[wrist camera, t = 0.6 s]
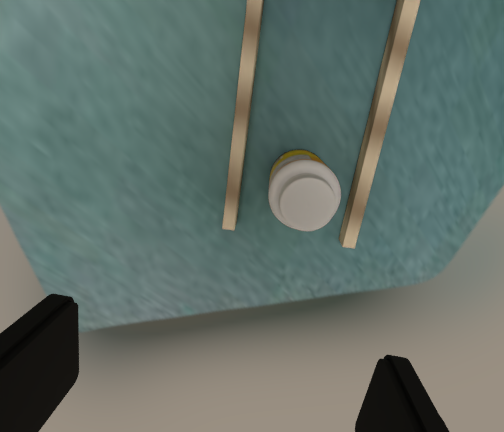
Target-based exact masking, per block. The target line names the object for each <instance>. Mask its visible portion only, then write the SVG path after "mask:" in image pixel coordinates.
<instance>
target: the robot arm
mask: <svg viewBox="0 0 504 432" xmlns="http://www.w3.org/2000/svg"><path fill="white" fill-rule="evenodd" d="M78 343H79V340H78V305H77V303H74V300H73V298H72V297H69V296H63V295H58V294H50V295H49V296H47V297H46V298H45V299H43V300H42V301H41V302H40V303H38V304H37V305H36V306H34V307H33V308H32V309H31V310H30V311H28V312H27V313H26V314H24V315H23V316H22V317H21V318H19V319H18V320H17V321H16V322H15V323H13V324H12V325H10V326H9V327H8V328H7V329H5V330H4V331H3V332H2V333H0V432H38V431H39V430H40V429H41V427H42V426H43V425H44V424H45V422H46V421H47V420H48V418H49V417H50V416H51V414H52V413H53V411H54V410H55V409H56V407H57V406H58V405H59V404H60V402H61V401H62V400H63V398H64V397H65V395H66V394H67V393H68V391H69V390H70V389H71V387H72V386H73V385H74V383H75V382H76V379H77V377H78V373H79V344H78ZM355 432H449V430H448V428H447V427H446V425H445V423H444V421H443V420H442V418H441V417H440V415H439V414H438V412H437V410H436V408H435V407H434V405H433V403H432V401H431V399H430V397H429V396H428V394H427V392H426V390H425V388H424V387H423V385H422V383H421V381H420V379H419V377H418V376H417V374H416V372H415V370H414V368H413V367H412V365H411V363H410V361H409V360H408V359H406V358H403V357H398V356H392V355H386V356H385V357H384V359H379V360H378V362H377V365H376V368H375V370H374V373H373V376H372V379H371V382H370V384H369V387H368V390H367V393H366V396H365V399H364V401H363V404H362V407H361V410H360V412H359V415H358V418H357V421H356V426H355Z"/></svg>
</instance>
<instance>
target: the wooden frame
mask: <svg viewBox="0 0 504 432" xmlns="http://www.w3.org/2000/svg"><path fill="white" fill-rule="evenodd" d="M419 4H420V0H397V3H396V7H395V11H394V15H393V19H392V23H391V27H390V31H389V35H388V39H387V43H386V48H385V52H384V56H383V60H382V64H381V68H380V72H379V76H378V80H377V84H376V89H375V93H374V97H373V101H372V105H371V109H370V113H369V117H368V121H367V125H366V129H365V134H364V138H363V142H362V146H361V150H360V154H359V158H358V162H357V166H356V170H355V175H354V179H353V183H352V187H351V191H350V195H349V199H348V203H347V207H346V211H345V215H344V220H343V224H342V228H341V232H340V236H339V240H340V242H341V244H342V246H343V247H348V248H355V245H356V241H357V237H358V234H359V230H360V226H361V222H362V219H363V215H364V211H365V207H366V204H367V200H368V196H369V192H370V188H371V185H372V181H373V177H374V173H375V170H376V166H377V162H378V158H379V155H380V151H381V147H382V143H383V139H384V136H385V132H386V128H387V124H388V121H389V117H390V113H391V109H392V106H393V102H394V98H395V94H396V90H397V87H398V83H399V79H400V75H401V72H402V68H403V64H404V60H405V57H406V53H407V49H408V45H409V41H410V38H411V34H412V30H413V26H414V23H415V19H416V15H417V11H418V8H419ZM263 5H264V0H247V7H246V16H245V26H244V35H243V44H242V53H241V62H240V72H239V81H238V90H237V99H236V108H235V117H234V127H233V136H232V145H231V154H230V163H229V172H228V182H227V191H226V200H225V209H224V218H223V227H222V229H227V230H234V229H235V226H236V223H237V215H238V207H239V199H240V191H241V182H242V174H243V166H244V158H245V150H246V142H247V134H248V126H249V118H250V110H251V102H252V94H253V86H254V78H255V70H256V62H257V54H258V46H259V38H260V30H261V21H262V13H263Z"/></svg>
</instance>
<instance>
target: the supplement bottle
mask: <svg viewBox="0 0 504 432" xmlns="http://www.w3.org/2000/svg"><path fill="white" fill-rule="evenodd" d="M268 198H269V204H270V207H271V209H272V212H273V213H274V215H275V216H276V218H277V219H278V220H279V221H280V222H282V223H283V224H285V225H286V226H288V227H290V228H293V229H297V230H300V231H314V230H317V229H320V228H321V227H323V226H325V225H326V224H327V223H328V222H329V221H330V220H331V218H332V217H333V216H334V214H335V213H336V211H337V209H338V207H339V204H340V199H341V189H340V184H339V182H338V179H337V178H336V176H335V174H334V173H333V172H332V171H331V170H330V169H329V167H328V166H326V164H325V163H324V162H323V161H322V160H321V159H320V158H319V157H318V156H316V155H315V154H314V153H312V152H309V151H307V150H300V149H298V150H291V151H288V152H286V153H284V154H283V155H281V156H280V157H279V158H278V159H277V160H276V161H275V163H274V164H273V166H272V169H271V172H270V178H269V193H268Z"/></svg>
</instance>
